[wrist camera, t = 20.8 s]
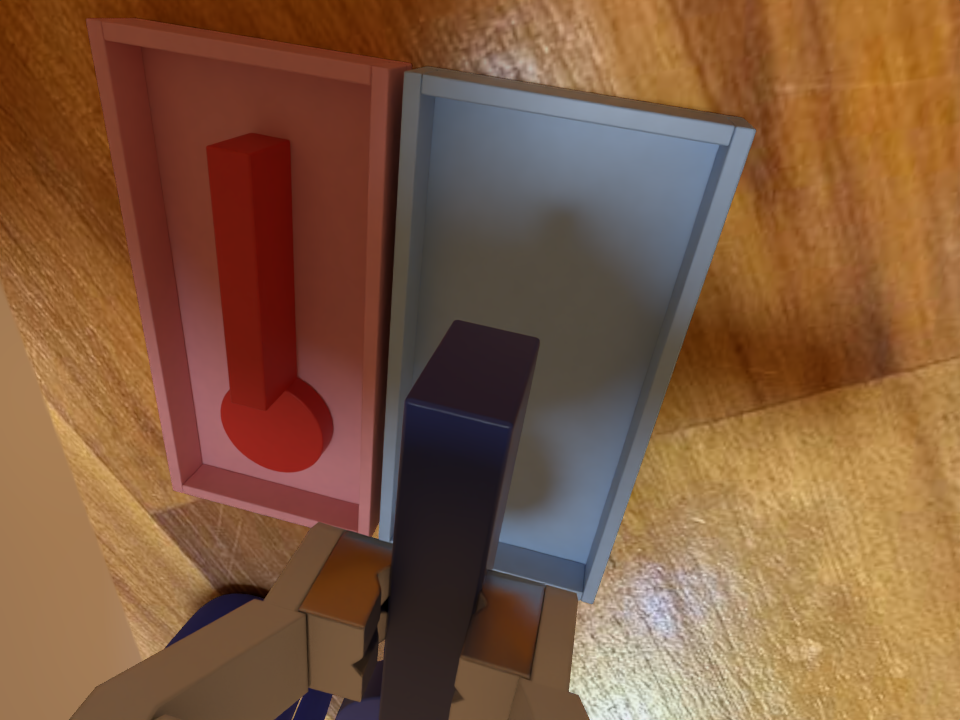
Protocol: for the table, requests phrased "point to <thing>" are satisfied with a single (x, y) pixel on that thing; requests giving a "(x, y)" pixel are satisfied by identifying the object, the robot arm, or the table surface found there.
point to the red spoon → (262, 306)
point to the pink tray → (316, 245)
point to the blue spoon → (447, 514)
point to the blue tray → (556, 283)
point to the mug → (313, 701)
